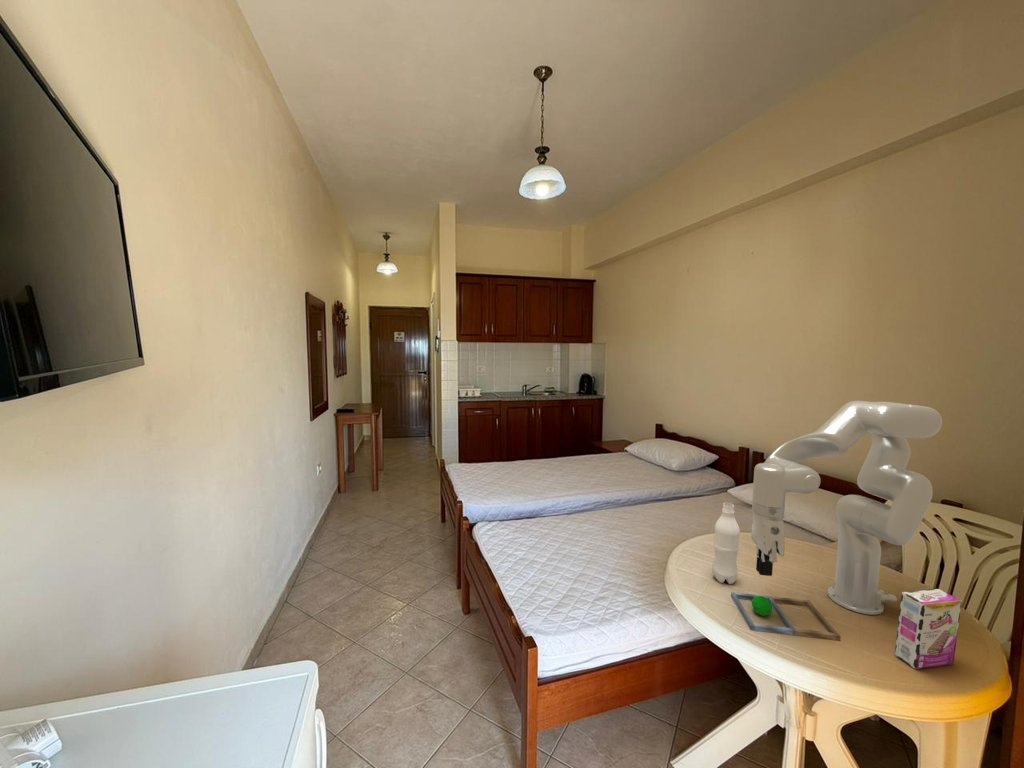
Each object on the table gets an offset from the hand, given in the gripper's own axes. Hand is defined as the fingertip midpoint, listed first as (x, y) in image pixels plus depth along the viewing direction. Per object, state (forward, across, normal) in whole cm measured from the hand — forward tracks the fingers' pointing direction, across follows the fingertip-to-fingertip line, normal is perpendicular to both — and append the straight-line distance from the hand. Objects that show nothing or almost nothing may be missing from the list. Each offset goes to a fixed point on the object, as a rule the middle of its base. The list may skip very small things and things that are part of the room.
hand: (764, 573), depth 112 cm
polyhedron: (+12, 0, 0) cm, 12 cm away
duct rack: (+12, 0, -5) cm, 13 cm away
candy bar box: (+12, -11, -31) cm, 36 cm away
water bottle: (+12, +16, +4) cm, 21 cm away
